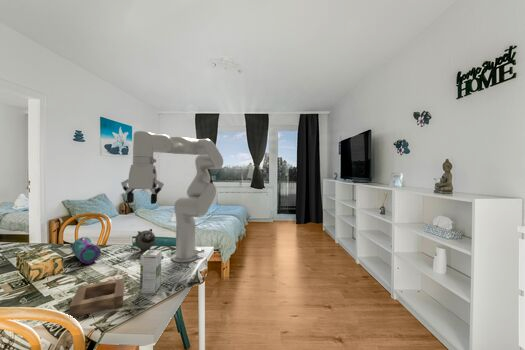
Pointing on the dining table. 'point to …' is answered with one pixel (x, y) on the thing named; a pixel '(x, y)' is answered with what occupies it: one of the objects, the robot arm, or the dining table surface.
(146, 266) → the syrup box
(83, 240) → the pencil case
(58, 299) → the dining table surface
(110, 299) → the walnut collar
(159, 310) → the dining table surface
